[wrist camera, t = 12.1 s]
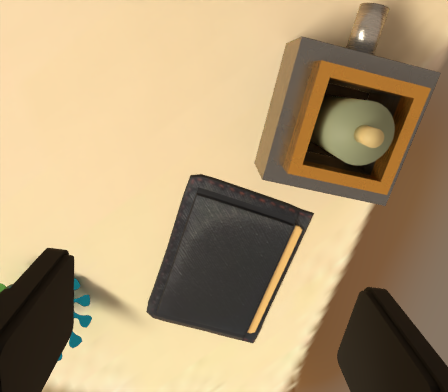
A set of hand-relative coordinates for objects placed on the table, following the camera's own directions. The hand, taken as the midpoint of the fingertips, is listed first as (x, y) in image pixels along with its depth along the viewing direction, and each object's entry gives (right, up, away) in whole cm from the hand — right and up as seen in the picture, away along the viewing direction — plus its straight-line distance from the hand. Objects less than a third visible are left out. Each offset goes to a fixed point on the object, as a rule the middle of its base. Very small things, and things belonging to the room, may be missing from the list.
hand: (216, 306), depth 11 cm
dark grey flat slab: (0, -5, +30) cm, 30 cm away
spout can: (+11, +11, +24) cm, 28 cm away
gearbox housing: (+11, +13, +23) cm, 29 cm away
